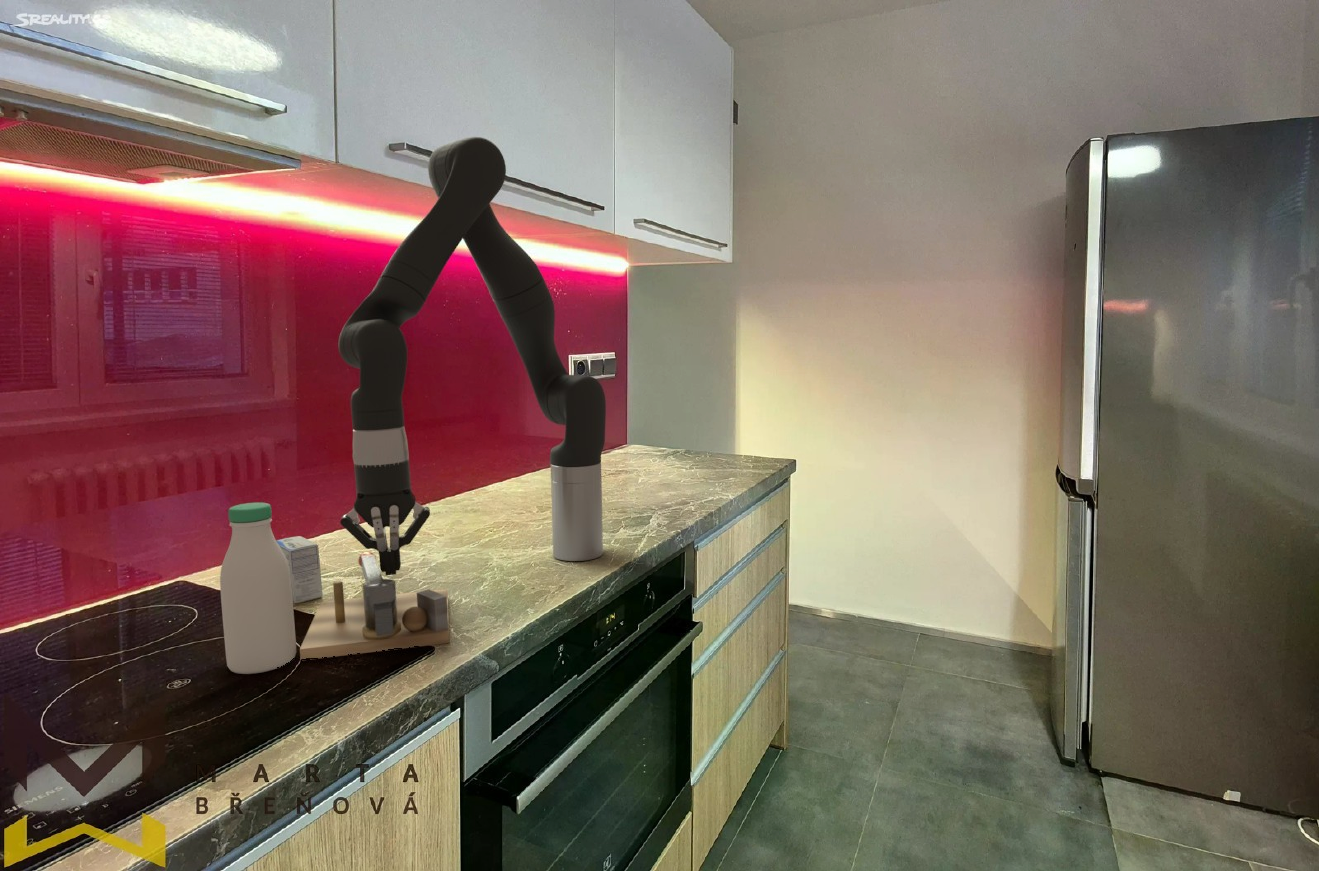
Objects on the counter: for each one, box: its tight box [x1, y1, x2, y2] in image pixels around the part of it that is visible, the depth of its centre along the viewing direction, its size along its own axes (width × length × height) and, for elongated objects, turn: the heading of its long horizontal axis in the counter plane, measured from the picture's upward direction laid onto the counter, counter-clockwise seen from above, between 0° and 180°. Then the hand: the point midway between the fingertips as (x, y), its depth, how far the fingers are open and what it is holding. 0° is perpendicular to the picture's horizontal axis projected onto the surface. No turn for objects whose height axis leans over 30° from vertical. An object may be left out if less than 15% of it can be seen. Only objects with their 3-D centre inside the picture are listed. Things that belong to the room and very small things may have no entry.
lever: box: [357, 551, 398, 636], centre depth 106 cm, size 25×4×5 cm, turn 26°
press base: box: [299, 580, 450, 660], centre depth 104 cm, size 18×18×7 cm
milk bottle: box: [219, 502, 297, 675], centre depth 92 cm, size 8×8×20 cm
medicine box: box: [276, 535, 324, 604], centre depth 118 cm, size 8×4×9 cm, turn 45°
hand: (390, 573), depth 111 cm, fingers closed
